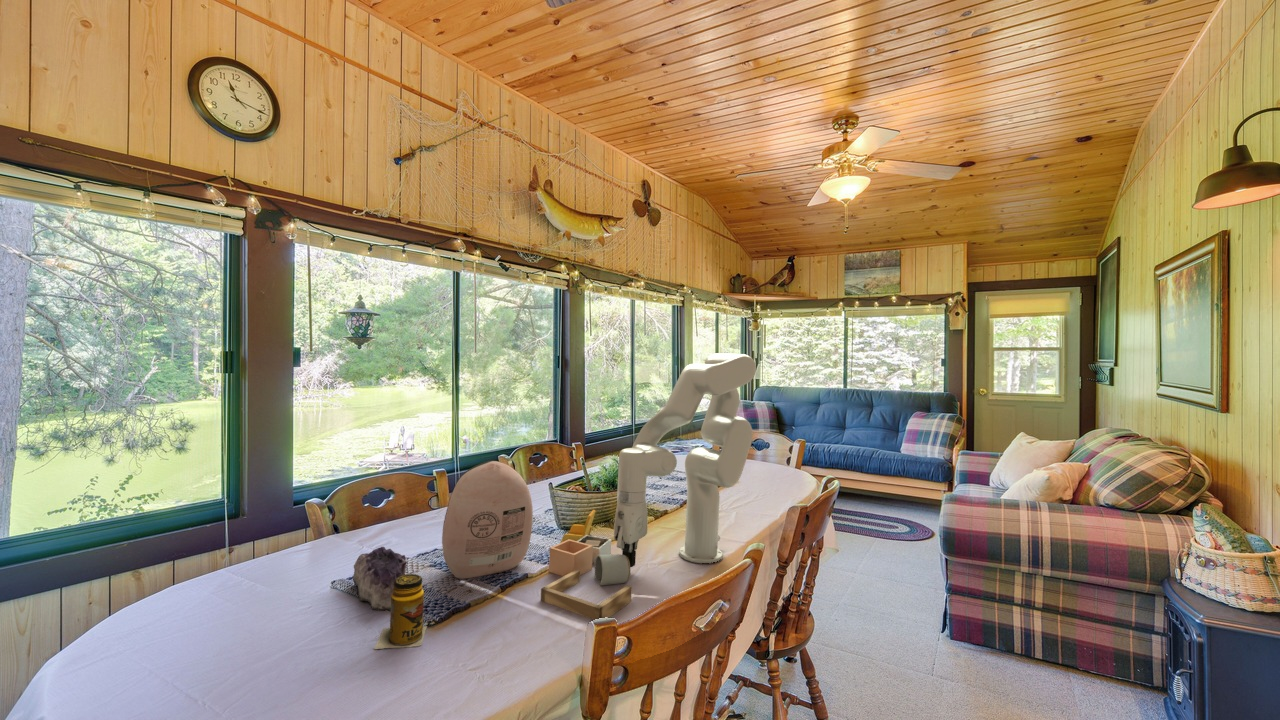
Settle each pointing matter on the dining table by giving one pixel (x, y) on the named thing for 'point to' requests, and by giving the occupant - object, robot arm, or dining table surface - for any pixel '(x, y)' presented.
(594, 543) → the walnut cube
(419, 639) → the condiment
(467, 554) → the packaged food
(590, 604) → the frame
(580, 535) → the yellow toy chair
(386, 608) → the geode
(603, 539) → the grey tin
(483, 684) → the dining table surface
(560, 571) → the terracotta planter
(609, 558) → the ceramic mug
